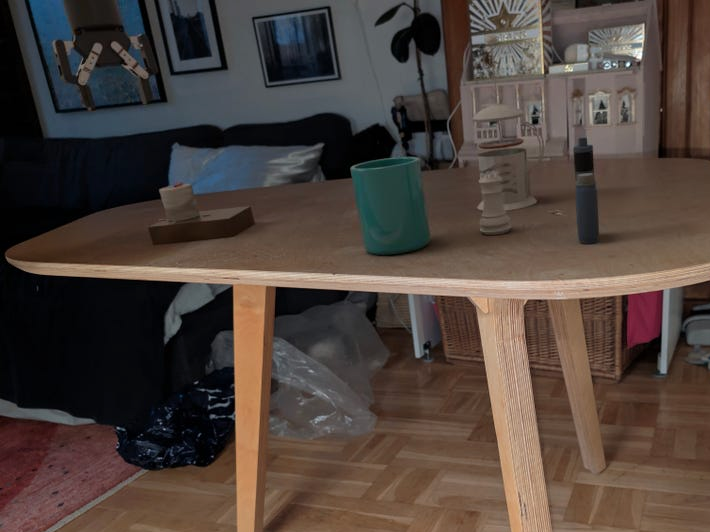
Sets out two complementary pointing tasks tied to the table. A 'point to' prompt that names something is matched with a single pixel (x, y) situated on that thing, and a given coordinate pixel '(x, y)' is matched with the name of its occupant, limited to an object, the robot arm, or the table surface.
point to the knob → (179, 202)
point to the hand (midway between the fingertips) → (120, 107)
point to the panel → (203, 226)
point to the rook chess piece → (493, 206)
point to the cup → (391, 205)
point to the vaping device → (586, 193)
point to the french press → (507, 153)
